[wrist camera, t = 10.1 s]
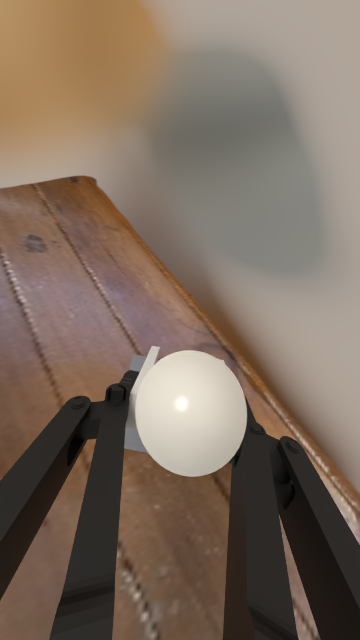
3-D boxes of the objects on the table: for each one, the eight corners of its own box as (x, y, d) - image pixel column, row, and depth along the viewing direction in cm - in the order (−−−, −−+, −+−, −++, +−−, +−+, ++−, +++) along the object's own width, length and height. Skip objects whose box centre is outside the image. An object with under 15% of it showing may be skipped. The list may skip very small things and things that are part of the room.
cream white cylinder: (141, 433, 17) (118, 462, 7) (155, 375, 20) (151, 341, 10) (197, 444, 17) (246, 488, 8) (204, 385, 20) (247, 361, 10)
